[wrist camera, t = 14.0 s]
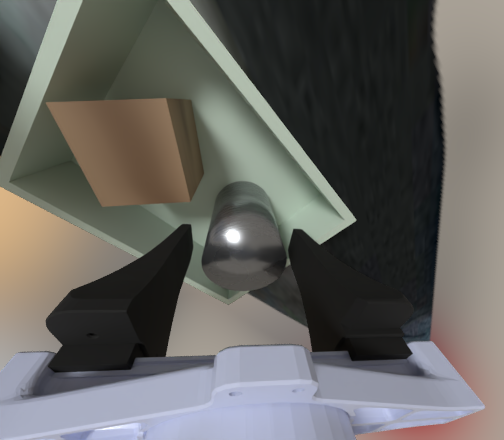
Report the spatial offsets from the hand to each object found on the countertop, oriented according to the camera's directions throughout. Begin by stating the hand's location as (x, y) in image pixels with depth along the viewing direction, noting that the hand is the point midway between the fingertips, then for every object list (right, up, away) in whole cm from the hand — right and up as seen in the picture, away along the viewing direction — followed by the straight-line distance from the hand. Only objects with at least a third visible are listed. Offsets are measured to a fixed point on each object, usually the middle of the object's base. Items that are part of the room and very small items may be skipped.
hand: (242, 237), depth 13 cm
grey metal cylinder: (0, +2, +4) cm, 4 cm away
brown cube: (-6, +7, 0) cm, 9 cm away
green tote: (-3, +5, +2) cm, 6 cm away
